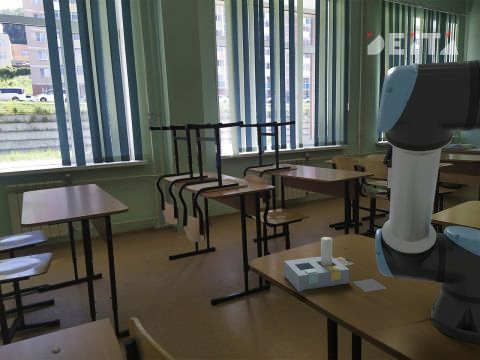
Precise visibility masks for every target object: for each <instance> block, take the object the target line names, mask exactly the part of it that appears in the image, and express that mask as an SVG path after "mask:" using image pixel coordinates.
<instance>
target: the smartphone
mask: <svg viewBox="0 0 480 360" xmlns="http://www.w3.org/2000/svg"><path fill="white" fill-rule="evenodd" d="M333 258H334V259H336V260H337V261H339V262H340V263H341V264H343V265H344V266H345V267H349V266H354V265H356V263H354V262H352V261H351V260H349V259H348V258H345V257H344V256H337V257H333Z"/></svg>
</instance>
